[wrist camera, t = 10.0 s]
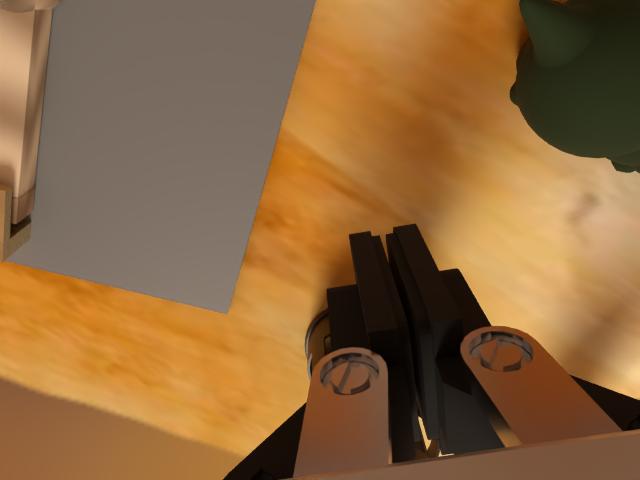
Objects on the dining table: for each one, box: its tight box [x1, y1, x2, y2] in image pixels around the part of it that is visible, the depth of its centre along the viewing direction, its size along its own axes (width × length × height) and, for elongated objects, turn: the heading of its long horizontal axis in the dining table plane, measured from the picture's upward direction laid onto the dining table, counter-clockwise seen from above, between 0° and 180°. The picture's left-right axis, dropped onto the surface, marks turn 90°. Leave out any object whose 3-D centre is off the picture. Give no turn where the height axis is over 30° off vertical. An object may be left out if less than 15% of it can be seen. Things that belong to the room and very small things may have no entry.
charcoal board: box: [5, 0, 316, 314], centre depth 34 cm, size 25×21×1 cm
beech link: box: [0, 0, 62, 224], centre depth 31 cm, size 18×4×2 cm, turn 161°
